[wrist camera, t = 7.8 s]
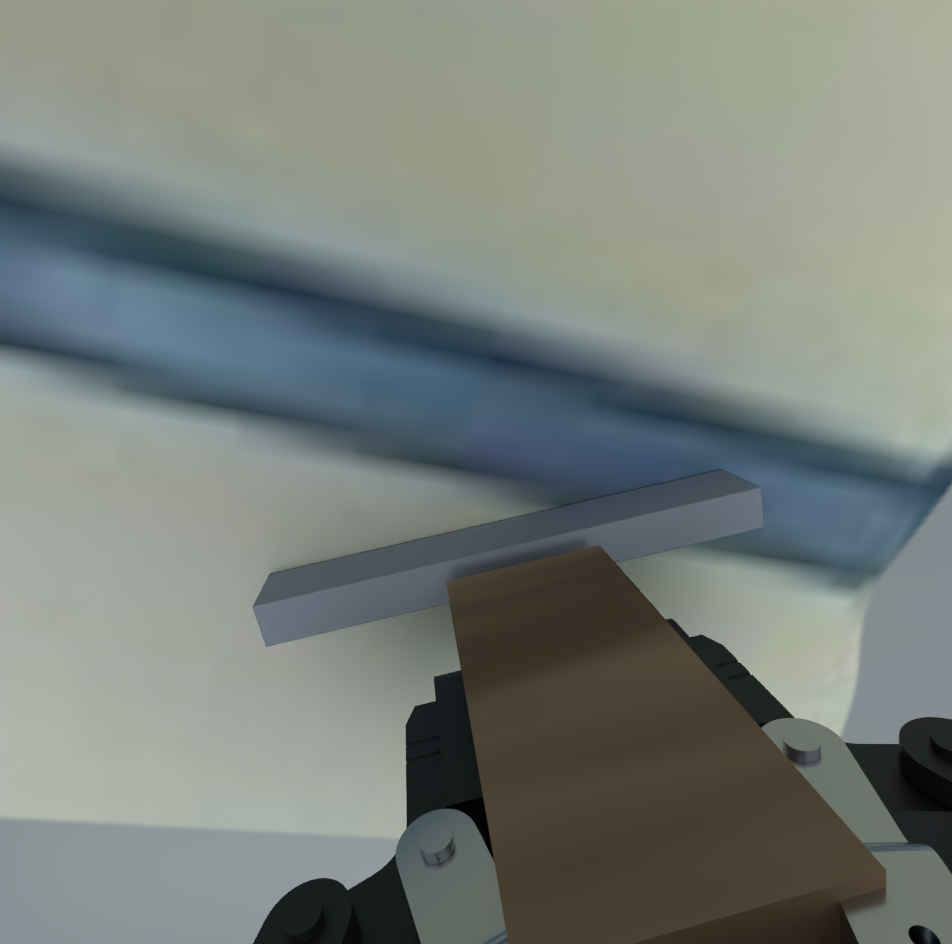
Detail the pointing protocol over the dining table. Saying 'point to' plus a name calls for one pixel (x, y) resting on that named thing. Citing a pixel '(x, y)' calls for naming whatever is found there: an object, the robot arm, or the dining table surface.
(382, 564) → the rail
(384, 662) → the dining table surface
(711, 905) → the walnut block
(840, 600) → the dining table surface
